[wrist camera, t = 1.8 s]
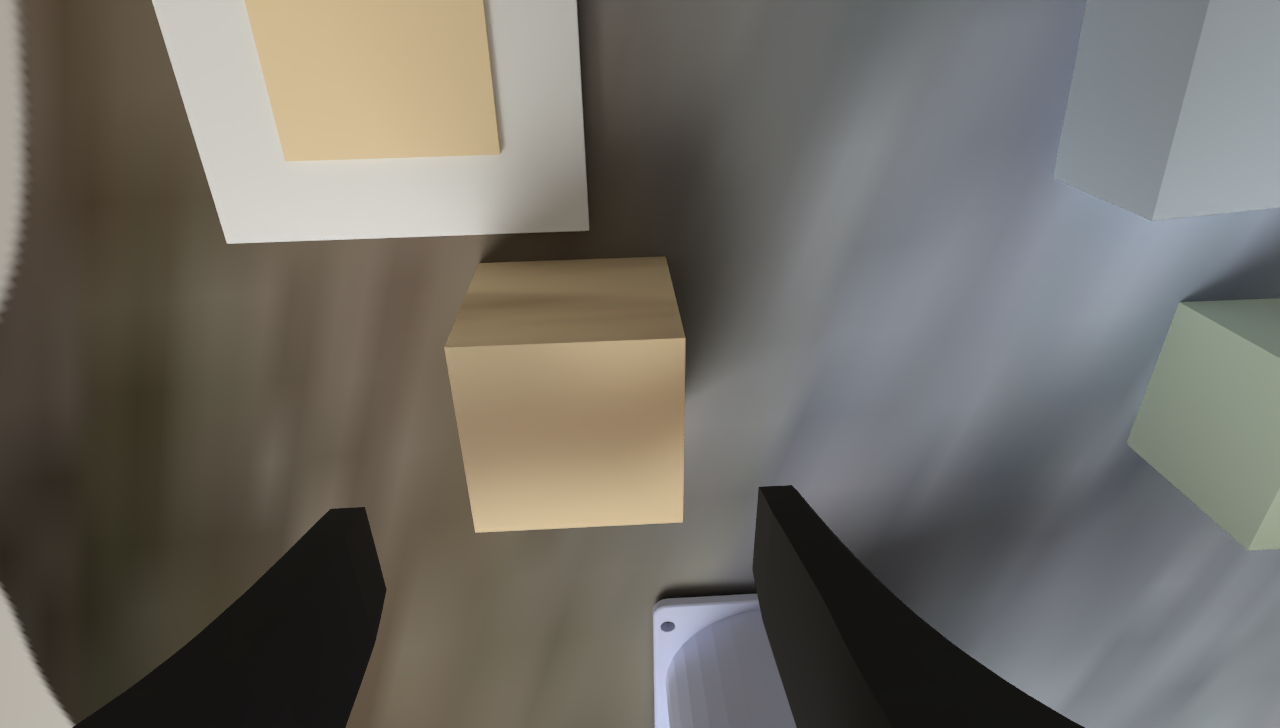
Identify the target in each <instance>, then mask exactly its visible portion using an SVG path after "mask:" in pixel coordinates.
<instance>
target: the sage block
mask: <svg viewBox="0 0 1280 728" xmlns="http://www.w3.org/2000/svg"><path fill="white" fill-rule="evenodd" d="M1126 444H1127V445H1128V446H1129V447H1131V448H1132V449H1133V450H1134V451H1135V452H1136V453H1137V454H1138V455H1140V456H1141V457H1142V458H1143V459H1144V460H1145V461H1146V462H1148V463H1149V464H1150V465H1151V466H1152V467H1153V468H1154V469H1156V470H1157V471H1158V472H1159V473H1160V474H1161V475H1162V476H1163V477H1165V478H1166V479H1167V480H1168V481H1169V482H1170V483H1171V484H1173V485H1174V486H1175V487H1176V488H1177V489H1178V490H1179V491H1180V492H1182V493H1183V494H1184V495H1185V496H1186V497H1187V498H1188V499H1190V500H1191V501H1192V502H1193V503H1194V504H1195V505H1196V506H1198V507H1199V508H1200V509H1201V510H1202V511H1203V512H1204V513H1205V514H1207V515H1208V516H1209V517H1210V518H1211V519H1212V520H1213V521H1215V522H1216V523H1217V524H1218V525H1219V526H1220V527H1221V528H1223V529H1224V530H1225V531H1226V532H1227V533H1228V534H1229V535H1230V536H1232V537H1233V538H1234V539H1235V540H1236V541H1237V542H1238V543H1240V544H1241V545H1242V546H1243V547H1244V548H1245V549H1246V550H1247V551H1249V550H1268V549H1280V298H1272V299H1247V300H1222V301H1196V302H1179V304H1178V307H1177V309H1176V312H1175V315H1174V317H1173V320H1172V323H1171V325H1170V328H1169V331H1168V333H1167V336H1166V339H1165V341H1164V344H1163V347H1162V349H1161V352H1160V355H1159V357H1158V360H1157V363H1156V365H1155V368H1154V371H1153V373H1152V376H1151V379H1150V381H1149V384H1148V387H1147V389H1146V392H1145V395H1144V397H1143V400H1142V403H1141V405H1140V408H1139V411H1138V413H1137V416H1136V419H1135V422H1134V424H1133V427H1132V430H1131V432H1130V435H1129V438H1128V440H1127V443H1126Z"/></svg>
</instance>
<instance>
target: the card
mask: <svg viewBox="0 0 1280 728" xmlns="http://www.w3.org/2000/svg"><path fill="white" fill-rule="evenodd" d="M152 2H153V5H154V8H155V12H156V15H157V18H158V21H159V25H160V28H161V31H162V34H163V38H164V41H165V44H166V47H167V51H168V54H169V57H170V60H171V63H172V67H173V70H174V73H175V76H176V80H177V83H178V86H179V89H180V93H181V96H182V99H183V102H184V106H185V109H186V112H187V115H188V119H189V122H190V125H191V128H192V132H193V135H194V138H195V141H196V144H197V148H198V151H199V154H200V157H201V161H202V164H203V167H204V170H205V174H206V177H207V180H208V183H209V187H210V190H211V193H212V196H213V200H214V203H215V206H216V209H217V212H218V216H219V219H220V222H221V225H222V229H223V232H224V235H225V238H226V242H227V244H231V243H258V242H286V241H314V240H342V239H370V238H398V237H426V236H454V235H482V234H510V233H538V232H565V231H589V210H588V192H587V174H586V155H585V137H584V119H583V101H582V82H581V64H580V46H579V28H578V9H577V0H152Z"/></svg>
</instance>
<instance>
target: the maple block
mask: <svg viewBox="0 0 1280 728" xmlns="http://www.w3.org/2000/svg"><path fill="white" fill-rule="evenodd" d="M685 340H686V338H685V334H684V330H683V326H682V322H681V317H680V313H679V309H678V305H677V301H676V297H675V293H674V289H673V285H672V281H671V277H670V272H669V268H668V264H667V260H666V256H663V257H636V258H608V259H580V260H552V261H524V262H496V263H479V264H478V266H477V269H476V271H475V274H474V276H473V279H472V281H471V284H470V286H469V288H468V291H467V293H466V296H465V298H464V301H463V303H462V306H461V308H460V311H459V313H458V316H457V318H456V320H455V323H454V325H453V328H452V330H451V333H450V335H449V338H448V340H447V343H446V345H445V347H444V348H445V354H446V360H447V366H448V372H449V378H450V384H451V390H452V396H453V402H454V408H455V414H456V420H457V426H458V432H459V438H460V444H461V450H462V456H463V462H464V467H465V473H466V479H467V485H468V491H469V497H470V503H471V509H472V515H473V521H474V527H475V533H477V532H497V531H517V530H538V529H558V528H578V527H598V526H618V525H638V524H659V523H679V522H683V477H684V408H685Z"/></svg>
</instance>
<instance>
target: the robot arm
mask: <svg viewBox="0 0 1280 728" xmlns="http://www.w3.org/2000/svg"><path fill="white" fill-rule="evenodd" d="M753 574H754V579H755V585H756V590H757V594H741V595H723V596H705V597H687V598H669V599H663V600H660V601H658V602H657V603H656V604H655V605H654V607H653V655H654V723H655V728H1084V727H1083V726H1081V725H1079V724H1077V723H1075V722H1073V721H1071V720H1070V719H1068V718H1066V717H1064V716H1063V715H1061V714H1059V713H1058V712H1056V711H1054V710H1053V709H1051V708H1049V707H1047V706H1046V705H1044V704H1042V703H1041V702H1039V701H1037V700H1036V699H1034V698H1032V697H1031V696H1029V695H1027V694H1026V693H1024V692H1023V691H1021V690H1020V689H1018V688H1016V687H1015V686H1013V685H1012V684H1010V683H1009V682H1007V681H1005V680H1004V679H1002V678H1001V677H999V676H998V675H997V674H995V673H994V672H992V671H991V670H989V669H988V668H986V667H985V666H984V665H982V664H981V663H979V662H978V661H976V660H975V659H973V658H972V657H971V656H969V655H968V654H966V653H965V652H963V651H962V650H961V649H959V648H958V647H957V646H955V645H954V644H953V643H951V642H950V641H949V640H947V639H946V638H945V637H943V636H942V635H941V634H940V633H938V632H937V631H936V630H935V629H934V628H932V627H931V626H930V625H929V624H927V623H926V622H925V621H924V620H922V619H921V618H920V617H919V616H917V615H916V614H915V613H914V612H913V611H912V610H911V609H909V608H908V607H907V606H906V605H905V604H904V603H903V602H902V601H900V600H899V599H898V598H897V597H896V596H895V595H894V594H893V593H892V592H891V591H890V590H889V589H888V588H886V587H885V586H884V585H883V584H882V583H881V582H880V581H879V580H878V579H877V578H876V577H875V576H874V575H873V574H872V573H871V572H870V571H869V570H868V569H867V568H866V567H865V566H864V565H863V564H862V563H861V562H860V561H859V560H858V559H857V558H856V557H855V556H854V555H853V553H852V552H851V551H850V550H849V549H848V548H847V547H846V546H845V545H844V544H843V543H842V542H841V541H840V540H839V539H838V537H837V536H836V535H835V534H834V533H833V532H832V531H831V530H830V529H829V527H828V526H827V525H826V524H825V523H824V522H823V521H822V519H821V518H820V517H819V516H818V515H817V514H816V512H815V511H814V510H813V509H812V508H811V507H810V505H809V504H808V503H807V502H806V501H805V499H804V498H803V497H802V496H801V495H800V493H799V492H798V491H797V490H796V489H795V488H794V487H793V486H792V485H788V486H768V487H759V492H758V505H757V518H756V531H755V544H754V557H753ZM385 594H386V586H385V582H384V579H383V575H382V571H381V567H380V563H379V560H378V556H377V552H376V548H375V544H374V540H373V537H372V533H371V529H370V525H369V521H368V518H367V514H366V510H365V507H358V508H339V509H330V510H329V511H328V512H327V513H326V514H325V515H324V516H323V517H322V518H321V519H320V520H319V521H318V522H317V523H316V524H315V525H314V526H313V527H312V528H311V529H310V530H309V531H308V532H307V533H306V534H305V535H304V536H303V537H302V538H301V539H300V540H299V541H298V542H297V543H296V544H295V545H294V546H293V547H292V548H291V549H290V550H289V551H288V552H287V553H286V554H285V555H284V556H283V557H282V558H281V559H280V560H279V561H277V562H276V563H275V564H274V565H273V566H272V567H271V568H270V569H269V570H268V571H267V572H266V573H265V574H264V575H263V576H262V577H261V578H260V579H259V580H258V581H257V582H256V583H255V584H254V585H253V586H252V587H251V588H250V589H249V590H247V591H246V592H245V593H244V594H243V595H242V596H241V597H240V598H239V599H237V600H236V601H235V602H234V603H233V604H232V605H231V606H230V607H229V608H227V609H226V610H225V611H224V612H223V613H222V614H221V615H220V616H218V617H217V618H216V619H215V620H214V621H213V622H212V623H211V624H209V625H208V626H207V627H206V628H205V629H204V630H203V631H202V632H200V633H199V634H198V635H197V636H196V637H195V638H193V639H192V640H191V641H190V642H189V643H187V644H186V645H185V646H184V647H183V648H181V649H180V650H179V651H178V652H176V653H175V654H174V655H173V656H171V657H170V658H169V659H168V660H166V661H165V662H164V663H162V664H161V665H160V666H158V667H157V668H156V669H154V670H153V671H152V672H151V673H149V674H148V675H147V676H145V677H144V678H143V679H141V680H140V681H139V682H137V683H136V684H135V685H133V686H132V687H131V688H129V689H128V690H127V691H125V692H124V693H122V694H121V695H119V696H118V697H116V698H115V699H113V700H112V701H111V702H109V703H108V704H106V705H105V706H103V707H102V708H100V709H99V710H97V711H96V712H94V713H93V714H92V715H90V716H89V717H87V718H86V719H84V720H83V721H81V722H80V723H78V724H77V725H76V726H74V727H73V728H345V727H346V724H347V721H348V719H349V716H350V713H351V710H352V707H353V705H354V702H355V699H356V696H357V693H358V691H359V688H360V685H361V682H362V679H363V676H364V673H365V671H366V668H367V665H368V662H369V659H370V656H371V653H372V650H373V647H374V644H375V641H376V636H377V632H378V627H379V623H380V619H381V614H382V609H383V604H384V599H385ZM667 621H669V623H664V622H667Z"/></svg>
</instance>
